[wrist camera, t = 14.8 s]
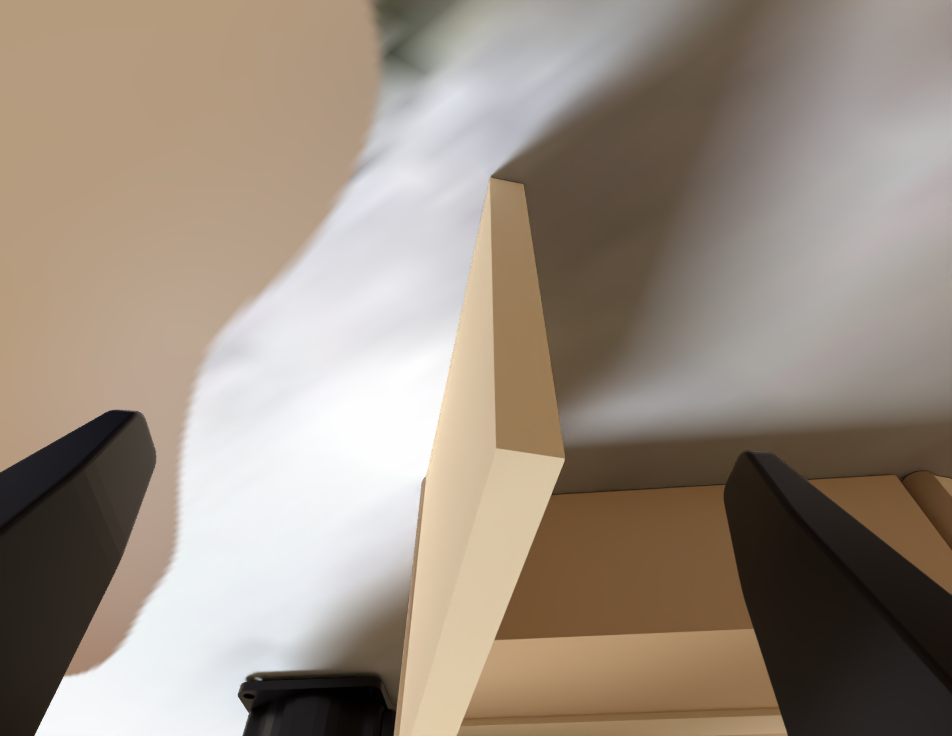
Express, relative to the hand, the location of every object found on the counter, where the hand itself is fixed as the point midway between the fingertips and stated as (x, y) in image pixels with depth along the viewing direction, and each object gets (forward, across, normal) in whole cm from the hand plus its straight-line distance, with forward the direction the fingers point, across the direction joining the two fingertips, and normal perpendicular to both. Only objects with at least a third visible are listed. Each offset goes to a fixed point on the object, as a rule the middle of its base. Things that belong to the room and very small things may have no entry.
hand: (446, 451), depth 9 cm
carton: (+7, -8, +13) cm, 17 cm away
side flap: (+7, 0, +4) cm, 8 cm away
